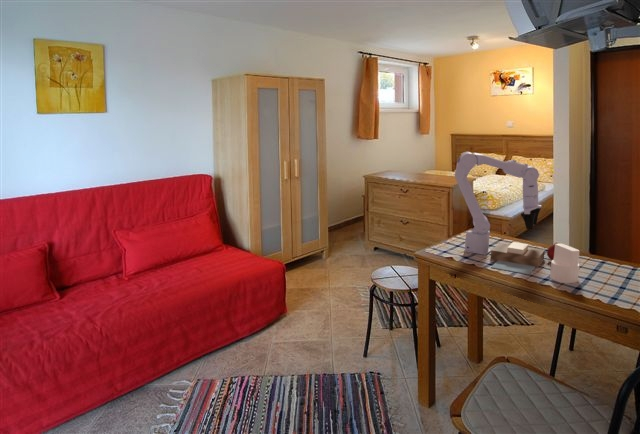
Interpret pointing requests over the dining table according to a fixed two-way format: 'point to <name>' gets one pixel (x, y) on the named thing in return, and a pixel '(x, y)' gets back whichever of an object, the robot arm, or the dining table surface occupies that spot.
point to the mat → (513, 267)
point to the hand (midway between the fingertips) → (531, 226)
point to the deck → (518, 255)
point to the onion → (551, 251)
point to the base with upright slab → (565, 264)
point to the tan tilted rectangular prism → (517, 248)
